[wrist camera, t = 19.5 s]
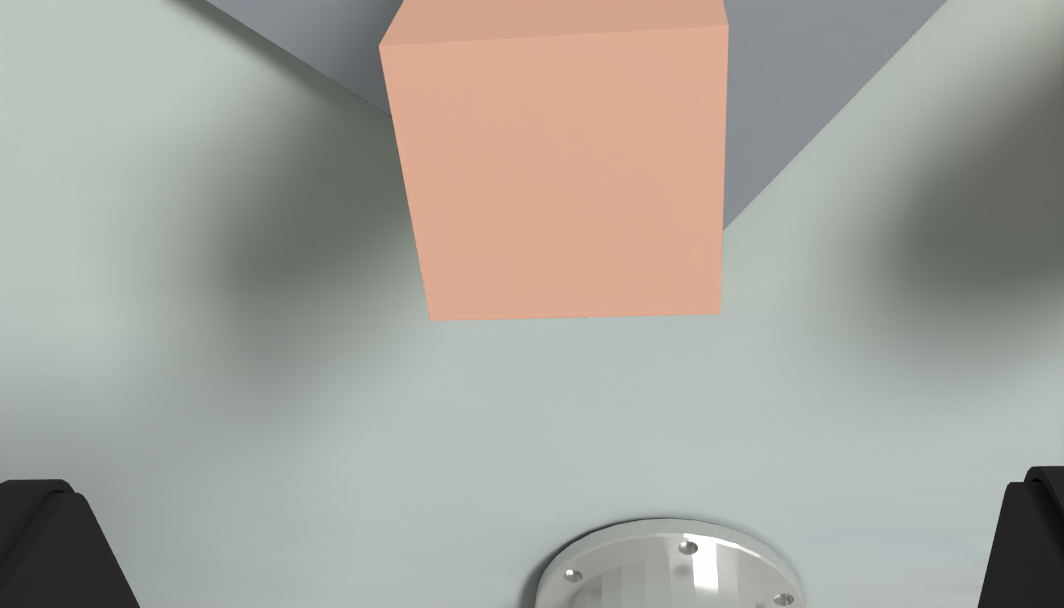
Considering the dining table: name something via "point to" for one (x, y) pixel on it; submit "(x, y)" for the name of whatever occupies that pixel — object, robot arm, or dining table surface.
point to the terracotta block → (562, 154)
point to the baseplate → (752, 73)
